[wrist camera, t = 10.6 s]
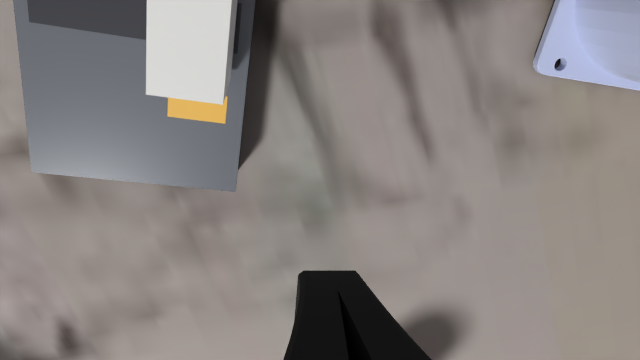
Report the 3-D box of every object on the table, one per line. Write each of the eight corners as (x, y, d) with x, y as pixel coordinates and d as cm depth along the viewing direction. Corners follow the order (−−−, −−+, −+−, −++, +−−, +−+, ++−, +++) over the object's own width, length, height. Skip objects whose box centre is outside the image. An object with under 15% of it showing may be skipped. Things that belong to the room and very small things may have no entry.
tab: (239, -24, 13) (233, -24, 11) (230, 79, 15) (222, 104, 12) (172, -37, 13) (147, -40, 10) (168, 70, 14) (145, 94, 12)
